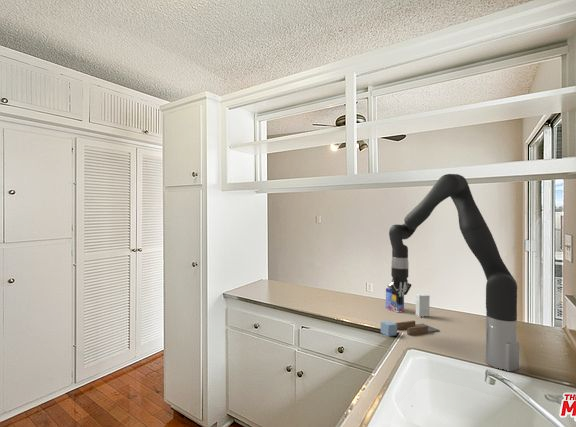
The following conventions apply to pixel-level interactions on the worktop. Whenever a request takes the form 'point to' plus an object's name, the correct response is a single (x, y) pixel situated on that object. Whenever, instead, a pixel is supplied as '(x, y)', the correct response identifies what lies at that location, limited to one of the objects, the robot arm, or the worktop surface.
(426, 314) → the skincare box
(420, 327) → the channel
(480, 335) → the worktop surface
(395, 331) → the block
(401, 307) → the ink cartridge box
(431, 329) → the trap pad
